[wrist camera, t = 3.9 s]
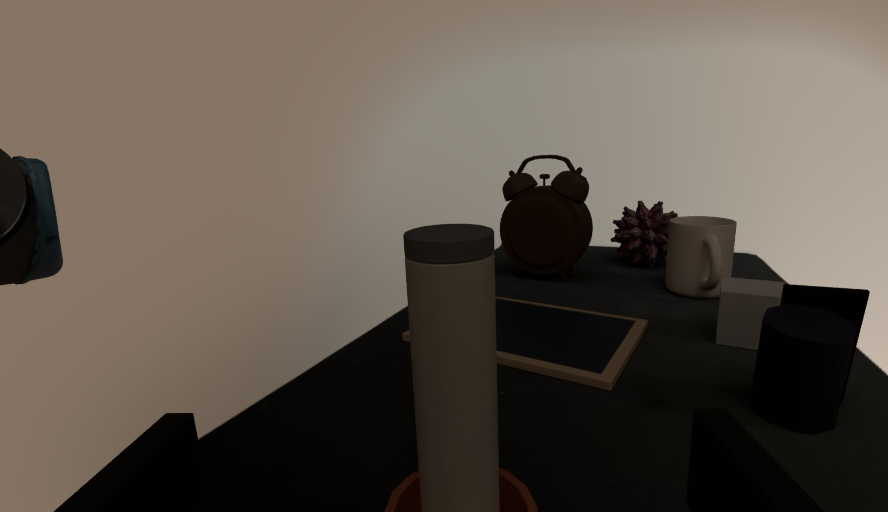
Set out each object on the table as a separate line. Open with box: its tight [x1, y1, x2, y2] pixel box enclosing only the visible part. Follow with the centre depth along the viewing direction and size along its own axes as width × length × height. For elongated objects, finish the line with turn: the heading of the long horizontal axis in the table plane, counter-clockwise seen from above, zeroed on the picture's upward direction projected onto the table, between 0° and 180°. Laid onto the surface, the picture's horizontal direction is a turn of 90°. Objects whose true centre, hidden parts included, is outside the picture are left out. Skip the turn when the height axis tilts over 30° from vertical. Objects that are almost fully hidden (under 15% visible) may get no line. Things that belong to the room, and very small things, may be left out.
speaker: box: [750, 284, 870, 434], centre depth 36 cm, size 8×6×10 cm
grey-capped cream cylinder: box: [403, 224, 500, 512], centre depth 23 cm, size 4×4×18 cm
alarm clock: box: [500, 155, 593, 280], centre depth 76 cm, size 15×7×20 cm, turn 57°
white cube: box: [716, 277, 785, 350], centre depth 51 cm, size 6×6×6 cm
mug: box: [665, 216, 736, 299], centre depth 65 cm, size 12×8×10 cm
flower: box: [611, 201, 678, 267], centre depth 81 cm, size 12×12×12 cm
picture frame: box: [402, 297, 648, 391], centre depth 55 cm, size 24×17×1 cm
